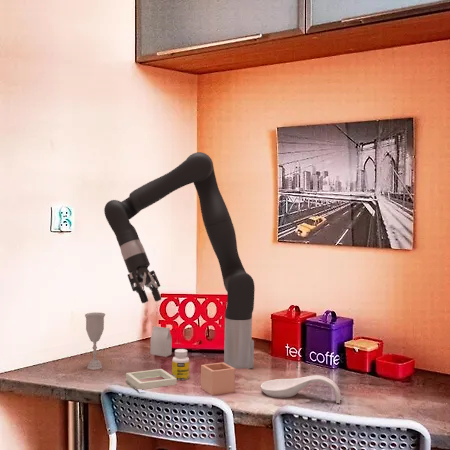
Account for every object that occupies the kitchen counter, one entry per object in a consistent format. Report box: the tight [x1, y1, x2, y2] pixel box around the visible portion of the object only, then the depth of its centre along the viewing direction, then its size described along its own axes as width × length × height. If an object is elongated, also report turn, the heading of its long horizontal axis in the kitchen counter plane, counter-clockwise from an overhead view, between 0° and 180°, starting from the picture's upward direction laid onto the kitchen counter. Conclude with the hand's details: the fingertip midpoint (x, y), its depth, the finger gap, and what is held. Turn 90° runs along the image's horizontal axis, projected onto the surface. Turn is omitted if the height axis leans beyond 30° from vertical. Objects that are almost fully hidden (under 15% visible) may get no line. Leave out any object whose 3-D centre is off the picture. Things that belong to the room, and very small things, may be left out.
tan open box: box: [200, 361, 236, 396], centre depth 203 cm, size 8×8×8 cm
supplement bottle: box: [171, 348, 190, 381], centre depth 215 cm, size 5×5×10 cm
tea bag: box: [149, 325, 173, 358], centre depth 247 cm, size 4×7×10 cm, turn 62°
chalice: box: [84, 312, 106, 370], centre depth 228 cm, size 7×7×18 cm
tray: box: [125, 368, 178, 390], centre depth 210 cm, size 12×12×3 cm
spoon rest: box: [260, 374, 342, 404], centre depth 200 cm, size 24×12×7 cm, turn 76°
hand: (152, 301), depth 221 cm, fingers open, 8 cm apart
